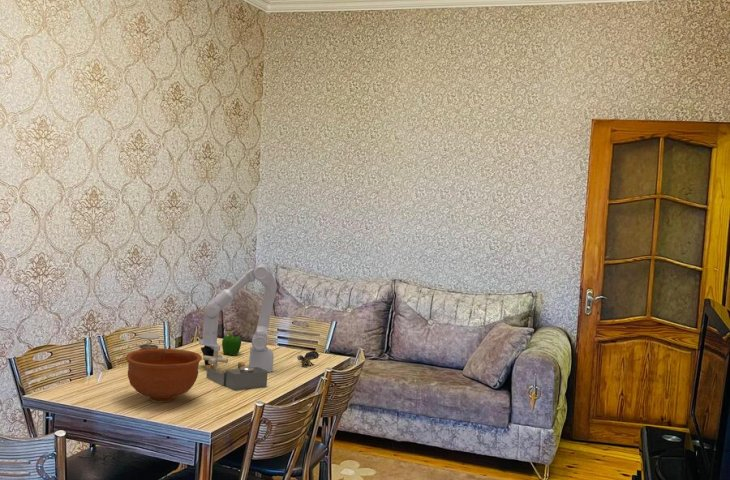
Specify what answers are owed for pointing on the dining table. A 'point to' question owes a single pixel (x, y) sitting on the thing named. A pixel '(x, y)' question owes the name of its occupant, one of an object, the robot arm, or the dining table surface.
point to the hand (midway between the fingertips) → (207, 364)
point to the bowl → (162, 372)
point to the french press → (150, 337)
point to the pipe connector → (215, 359)
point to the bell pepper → (231, 344)
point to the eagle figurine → (308, 357)
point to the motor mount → (239, 377)
